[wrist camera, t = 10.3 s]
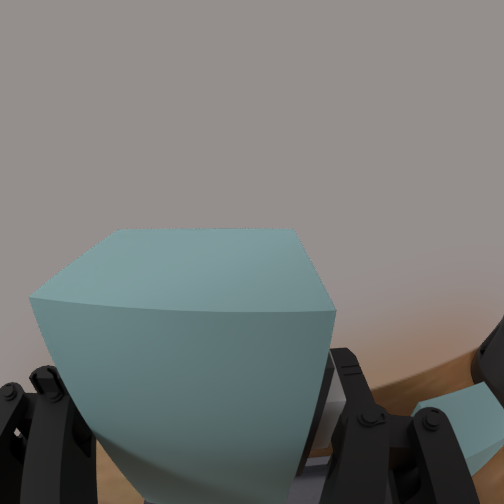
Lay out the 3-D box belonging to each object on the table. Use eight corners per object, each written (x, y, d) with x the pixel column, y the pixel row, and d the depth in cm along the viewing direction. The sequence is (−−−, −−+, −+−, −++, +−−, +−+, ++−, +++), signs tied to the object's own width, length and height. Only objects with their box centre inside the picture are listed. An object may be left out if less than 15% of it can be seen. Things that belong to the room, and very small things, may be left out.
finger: (284, 431, 13) (308, 229, 9) (293, 511, 8) (363, 308, 5) (164, 426, 13) (118, 229, 9) (147, 502, 8) (28, 296, 4)
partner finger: (424, 462, 16) (483, 381, 13) (439, 502, 12) (517, 429, 8) (360, 480, 16) (411, 404, 13) (371, 526, 12) (442, 469, 8)
